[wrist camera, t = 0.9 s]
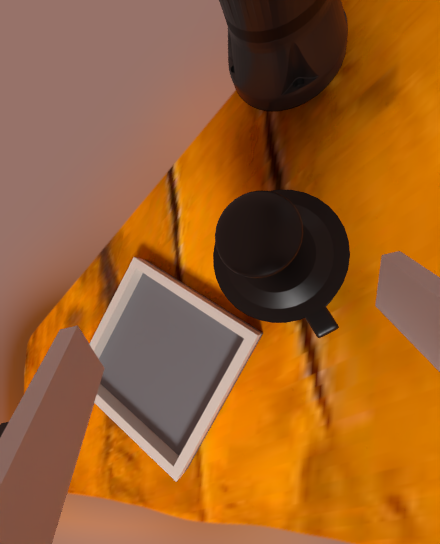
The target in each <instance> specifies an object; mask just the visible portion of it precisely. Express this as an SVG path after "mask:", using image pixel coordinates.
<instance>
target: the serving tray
mask: <svg viewBox="0 0 440 544" xmlns="http://www.w3.org/2000/svg"><path fill="white" fill-rule="evenodd" d="M262 334H263V333H262V332H261V331H259V330H257V329H256V328H254V327H253V326H251V325H249V324H248V323H246V322H245V321H243V320H241V319H240V318H238V317H237V316H235V315H233V314H232V313H230V312H229V311H227V310H225V309H224V308H222V307H221V306H219V305H217V304H216V303H214V302H213V301H211V300H209V299H208V298H206V297H205V296H203V295H201V294H200V293H198V292H197V291H195V290H193V289H192V288H190V287H189V286H187V285H185V284H184V283H182V282H181V281H179V280H177V279H176V278H174V277H173V276H171V275H169V274H168V273H166V272H165V271H163V270H161V269H160V268H158V267H156V266H155V265H153V264H152V263H150V262H148V261H147V260H144V259H140V258H136V257H134V258H133V260H132V262H131V264H130V266H129V268H128V270H127V272H126V273H125V275H124V277H123V279H122V281H121V283H120V285H119V287H118V289H117V291H116V293H115V295H114V297H113V299H112V301H111V303H110V305H109V307H108V309H107V311H106V313H105V315H104V317H103V319H102V320H101V322H100V324H99V326H98V328H97V330H96V332H95V334H94V336H93V338H92V340H91V342H90V346H91V348H92V349H93V351H94V352H95V354H96V356H97V357H98V359H99V360H100V362H101V363H102V365H103V367H104V368H105V369H104V372H103V375H102V379H101V382H100V385H99V388H98V392H97V395H96V398H95V402H94V403H95V404H96V405H97V406H99V407H100V408H101V409H102V410H103V411H104V412H105V413H106V414H107V415H108V416H109V417H110V418H111V419H112V420H113V421H114V422H115V423H116V424H117V425H118V426H119V427H120V428H121V429H122V430H123V431H124V432H125V433H126V434H127V435H128V436H129V437H131V438H132V439H133V440H134V441H135V442H136V443H137V444H138V445H139V446H140V447H141V448H142V449H143V450H144V451H145V452H146V453H147V454H148V455H149V456H150V457H151V458H152V459H153V460H154V461H155V462H156V463H157V464H158V465H159V466H160V467H161V468H163V469H164V470H165V471H166V472H167V473H168V474H169V475H170V476H171V477H172V478H173V479H174V480H175V481H176V482H177V481H178V479H179V478H180V477H181V476H182V475H183V473H184V472H185V471H186V470H187V469H188V467H189V465H190V463H191V461H192V460H193V458H194V456H195V454H196V453H197V451H198V449H199V447H200V445H201V444H202V442H203V440H204V438H205V436H206V435H207V433H208V431H209V429H210V427H211V426H212V424H213V422H214V420H215V418H216V417H217V415H218V413H219V411H220V409H221V408H222V406H223V404H224V402H225V401H226V399H227V397H228V395H229V393H230V392H231V390H232V388H233V386H234V384H235V383H236V381H237V379H238V377H239V375H240V374H241V372H242V370H243V368H244V366H245V365H246V363H247V361H248V359H249V358H250V356H251V354H252V352H253V350H254V349H255V347H256V345H257V343H258V341H259V340H260V338H261V336H262Z"/></svg>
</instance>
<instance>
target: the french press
mask: <svg viewBox="0 0 440 544" xmlns="http://www.w3.org/2000/svg"><path fill="white" fill-rule="evenodd" d="M349 258H350V251H349V241H348V238H347V234H346V231H345V228H344V226H343V225H342V223H341V221H340V219H339V218H338V216H337V215H336V214H335V213H334V212H333V210H332V209H331V208H330V207H329V206H328V205H326V204H325V203H324V202H322V201H321V200H319V199H318V198H316V197H314V196H311V195H309V194H307V193H304V192H299V191H295V190H274V191H254V192H249V193H247V194H244V195H242V196H240V197H238V198H237V199H235V200H234V201H233V202H231V203H230V204H229V205H228V206H227V207H226V209H225V210H224V211H223V213H222V215H221V216H220V218H219V221H218V223H217V226H216V233H215V247H214V253H213V259H214V270H215V275H216V279H217V281H218V283H219V286H220V288H221V290H222V292H223V293H224V294H225V296H226V297H227V299H228V300H229V301H230V302H231V303H232V304H233V305H234V306H235V307H236V308H237V309H239V310H240V311H242V312H243V313H245V314H246V315H248V316H251V317H253V318H256V319H258V320H262V321H267V322H272V323H286V322H291V321H296V320H301V319H303V318H306V320H307V321H308V323H309V325H310V326H311V328H312V329H313V331H314V333H315V334H316V336H317V337H318V338H321V337H323V336H325V335H327V334H329V333H331V332H333V331H335V330H336V329H338V328H339V327H338V324H337V323H336V321H335V320H334V318H333V317H332V315H331V314H330V312H329V311H328V309H327V308H326V306H327V305H328V304H329V303H330V302H331V300H332V299H333V297H334V296H335V295H336V293H337V292H338V290H339V289H340V287H341V285H342V284H343V282H344V279H345V276H346V273H347V271H348V265H349Z"/></svg>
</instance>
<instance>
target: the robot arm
mask: <svg viewBox="0 0 440 544" xmlns="http://www.w3.org/2000/svg"><path fill="white" fill-rule="evenodd" d="M219 1H220V4H221V7H222V10H223V13H224V16H225V19H226V22H227V25H228V56H229V57H228V61H229V71H230V75H231V78H232V81H233V83H234V85H235V88H236V90H237V92H238V94H239V96H240V97H241V98H242V99H243V100H244V101H245V102H246V103H248V104H249V105H251V106H253V107H255V108H258V109H261V110H267V111H279V110H286V109H290V108H293V107H296V106H299V105H301V104H303V103H305V102H307V101H309V100H310V99H312V98H313V97H315V96H316V95H318V94H319V93H320V92H321V91H322V90H323V89H324V88H325V87H326V86H327V85H328V84H329V83H330V82H331V81H332V80H333V78H334V77H335V75H336V74H337V72H338V71H339V69H340V67H341V65H342V62H343V60H344V57H345V53H346V45H347V34H348V25H347V18H346V14H345V11H344V9H343V6H342V3H341V0H219ZM376 307H377V308H378V309H379V310H380V311H381V312H382V313H383V314H384V315H385V316H386V317H387V318H388V319H389V320H390V321H391V322H392V323H393V324H394V325H395V326H396V327H397V328H398V329H399V331H400V332H401V333H402V334H403V335H404V336H405V337H406V338H407V339H408V340H409V341H410V342H411V343H412V344H413V345H414V346H415V347H416V348H417V349H418V350H419V351H420V352H421V353H422V354H423V355H424V356H425V357H426V358H427V359H428V360H429V361H430V362H431V363H432V364H433V366H434V367H435V368H436V369H437V370H438V371H439V372H440V278H439V277H438V276H436V275H435V274H433V273H432V272H430V271H429V270H427V269H426V268H424V267H423V266H421V265H420V264H418V263H417V262H415V261H414V260H412V259H411V258H409V257H408V256H406V255H405V254H403V253H402V252H400V251H398V252H394V253H389V254H385V255H382V258H381V266H380V274H379V282H378V290H377V298H376ZM104 369H105V368H104V367H103V365H102V363H101V362H100V360H99V359H98V357H97V356H96V354H95V352H94V351H93V349H92V348H91V346H90V344H89V343H88V341H87V340H86V338H85V337H84V335H83V333H82V332H81V330H80V329H79V327H78V326H74V327H70V328H66V329H61V330H60V331H59V332H58V334H57V336H56V338H55V340H54V342H53V343H52V345H51V347H50V349H49V351H48V352H47V354H46V356H45V358H44V360H43V361H42V363H41V365H40V367H39V369H38V370H37V372H36V374H35V376H34V378H33V379H32V381H31V383H30V385H29V387H28V388H27V390H26V392H25V394H24V396H23V398H22V399H21V401H20V403H19V405H18V407H17V408H16V410H15V412H14V414H13V416H12V417H11V419H10V421H9V422H6V423H2V424H1V425H0V544H52V541H53V538H54V535H55V531H56V528H57V525H58V521H59V518H60V514H61V511H62V508H63V505H64V501H65V498H66V495H67V492H68V488H69V485H70V482H71V478H72V475H73V472H74V468H75V465H76V462H77V458H78V455H79V452H80V448H81V445H82V442H83V438H84V435H85V432H86V428H87V425H88V422H89V418H90V415H91V412H92V408H93V405H94V402H95V398H96V395H97V392H98V388H99V385H100V382H101V379H102V375H103V372H104Z"/></svg>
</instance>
